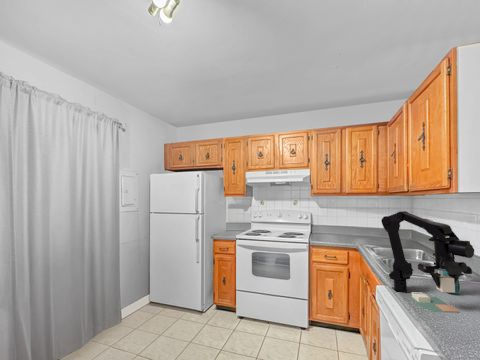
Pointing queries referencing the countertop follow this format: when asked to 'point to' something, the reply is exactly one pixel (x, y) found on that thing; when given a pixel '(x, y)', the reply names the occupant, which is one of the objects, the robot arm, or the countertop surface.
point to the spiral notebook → (421, 297)
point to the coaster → (447, 308)
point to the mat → (432, 304)
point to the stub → (446, 284)
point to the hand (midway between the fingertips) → (445, 287)
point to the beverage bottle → (456, 281)
